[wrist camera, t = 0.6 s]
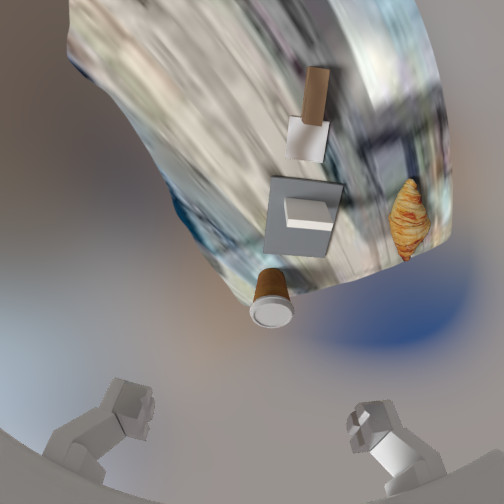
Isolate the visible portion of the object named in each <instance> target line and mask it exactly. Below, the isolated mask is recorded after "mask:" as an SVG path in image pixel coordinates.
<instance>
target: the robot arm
mask: <svg viewBox="0 0 504 504" xmlns="http://www.w3.org/2000/svg"><path fill="white" fill-rule="evenodd" d="M154 409H155V401H154V398H153V397H152V388H151V387H148V386H144V385H140V384H136V383H133V382H129V381H126V380H122V379H119V378H114V379H113V380H112V381H111V383H110V386H109V387H108V389H107V392H106V394H105V396H104V398H103V400H102V402H101V404H100V407H99V408H97V407H95V408H93V409H91V410H90V411H88V412H86V413H84V414H83V415H81V416H79V417H77V418H76V419H74V420H72V421H71V422H69V423H67V424H65V425H63V426H62V427H60V428H58V429H56V430H54V431H53V433H52V435H51V437H50V439H49V441H48V443H47V446H46V448H45V450H44V452H43V454H42V456H41V455H40V454H38V453H36V452H35V451H33V450H31V449H30V448H28V447H27V446H25V445H24V444H22V443H20V442H19V441H18V440H16V439H15V438H13V437H12V436H11V435H9V434H8V433H6V432H5V431H4V430H2V429H1V428H0V504H163V503H159V502H155V501H151V500H147V499H143V498H140V497H137V496H133V495H130V494H127V493H123V492H121V491H118V490H115V489H112V488H109V487H107V486H104V485H102V484H103V480H104V477H105V473H106V471H105V470H104V468H103V467H102V466H101V465H100V464H99V463H98V462H97V460H98V459H99V458H100V457H102V456H103V455H104V454H105V453H107V452H108V451H109V450H110V449H112V448H113V447H114V446H115V445H117V444H118V443H119V442H120V441H122V440H123V439H124V438H125V437H126V436H128V437H132V438H135V439H139V440H143V441H146V438H147V435H148V431H149V425H148V422H149V421H150V420H152V418H153V414H154ZM355 410H356V411H354V412H352V413H351V414H350V415H349V417H348V419H347V431H348V433H349V434H350V435H351V436H352V438H351V440H350V443H351V448H352V451H353V453H360V452H368V451H370V453H371V454H372V455H373V456H374V457H375V458H376V459H377V460H378V461H379V462H380V464H381V465H382V466H384V468H385V469H386V470H387V471H388V472H389V473H390V474H391V475H392V476H393V477H394V478H393V479H391V480H390V481H388V482H387V483H386V484H385V485H384V486H385V490H386V494H387V498H383V499H379V500H375V501H371V502H367V503H363V504H504V452H502V451H500V450H498V449H495V450H492V451H490V452H488V453H487V454H485V455H483V456H482V457H480V458H479V459H477V460H475V461H473V462H471V463H469V464H468V465H466V466H464V467H462V468H460V469H458V470H456V471H454V472H452V473H450V474H447V472H446V470H445V467H444V464H443V462H442V459H441V456H440V454H439V452H437V451H436V450H434V449H433V448H432V447H430V446H429V445H428V444H426V443H425V442H424V441H422V440H421V439H420V438H418V437H417V436H416V435H415V434H413V433H412V432H411V431H410V430H408V429H407V428H403V426H402V424H401V421H400V419H399V416H398V414H397V411H396V409H395V406H394V404H393V402H392V401H391V400H383V401H372V402H363V403H359V404H357V405H356V407H355Z"/></svg>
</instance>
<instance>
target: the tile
mask: <svg viewBox="0 0 504 504" xmlns="http://www.w3.org/2000/svg"><path fill="white" fill-rule="evenodd" d="M284 209H285V216H286V224H287V227H293V228H305V229H315V230H326V231H331V230H332V227H333V221H332V219H331V216H330V214H329V211H328V208H327V206H326V203H325V202H322V201H314V200H304V199H295V198H285V201H284Z"/></svg>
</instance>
